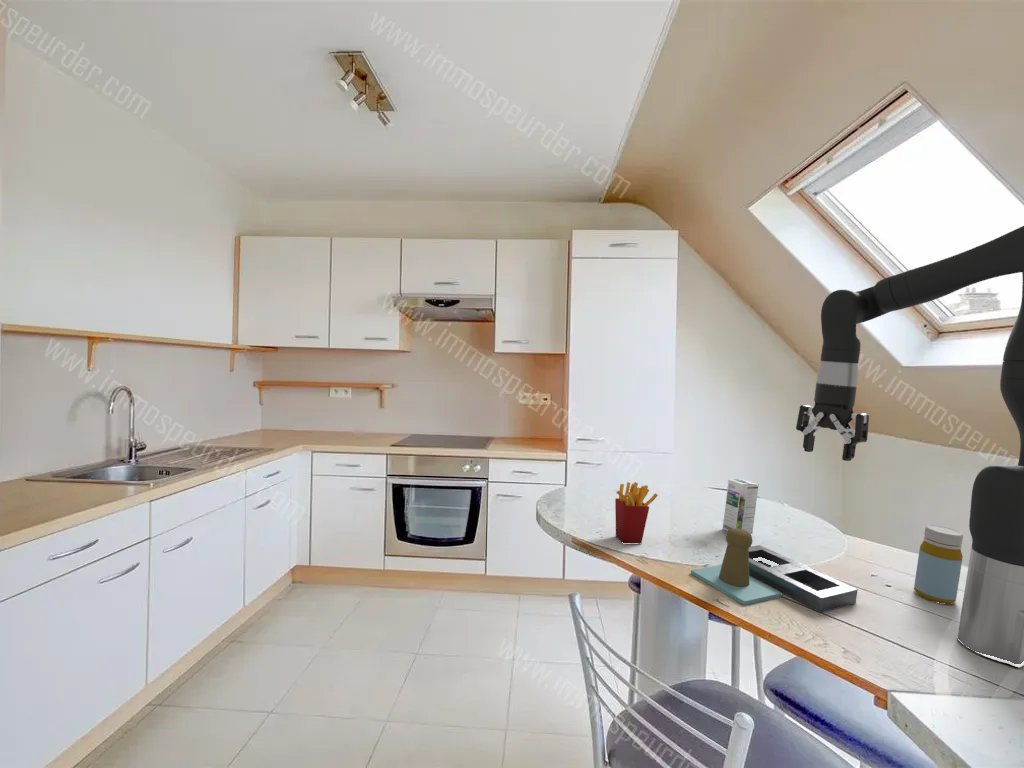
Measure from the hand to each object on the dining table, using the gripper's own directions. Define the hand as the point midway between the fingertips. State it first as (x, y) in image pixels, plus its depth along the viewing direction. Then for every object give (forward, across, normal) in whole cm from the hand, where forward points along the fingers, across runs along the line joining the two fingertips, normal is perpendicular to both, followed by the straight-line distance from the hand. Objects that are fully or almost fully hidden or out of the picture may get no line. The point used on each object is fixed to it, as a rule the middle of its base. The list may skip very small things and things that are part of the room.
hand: (826, 455), depth 112 cm
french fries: (+28, +30, +27) cm, 49 cm away
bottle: (+28, -15, -19) cm, 37 cm away
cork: (+28, +3, +21) cm, 35 cm away
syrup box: (+28, +26, -7) cm, 39 cm away
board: (+28, +3, +21) cm, 35 cm away
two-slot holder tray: (+28, 0, +8) cm, 29 cm away
